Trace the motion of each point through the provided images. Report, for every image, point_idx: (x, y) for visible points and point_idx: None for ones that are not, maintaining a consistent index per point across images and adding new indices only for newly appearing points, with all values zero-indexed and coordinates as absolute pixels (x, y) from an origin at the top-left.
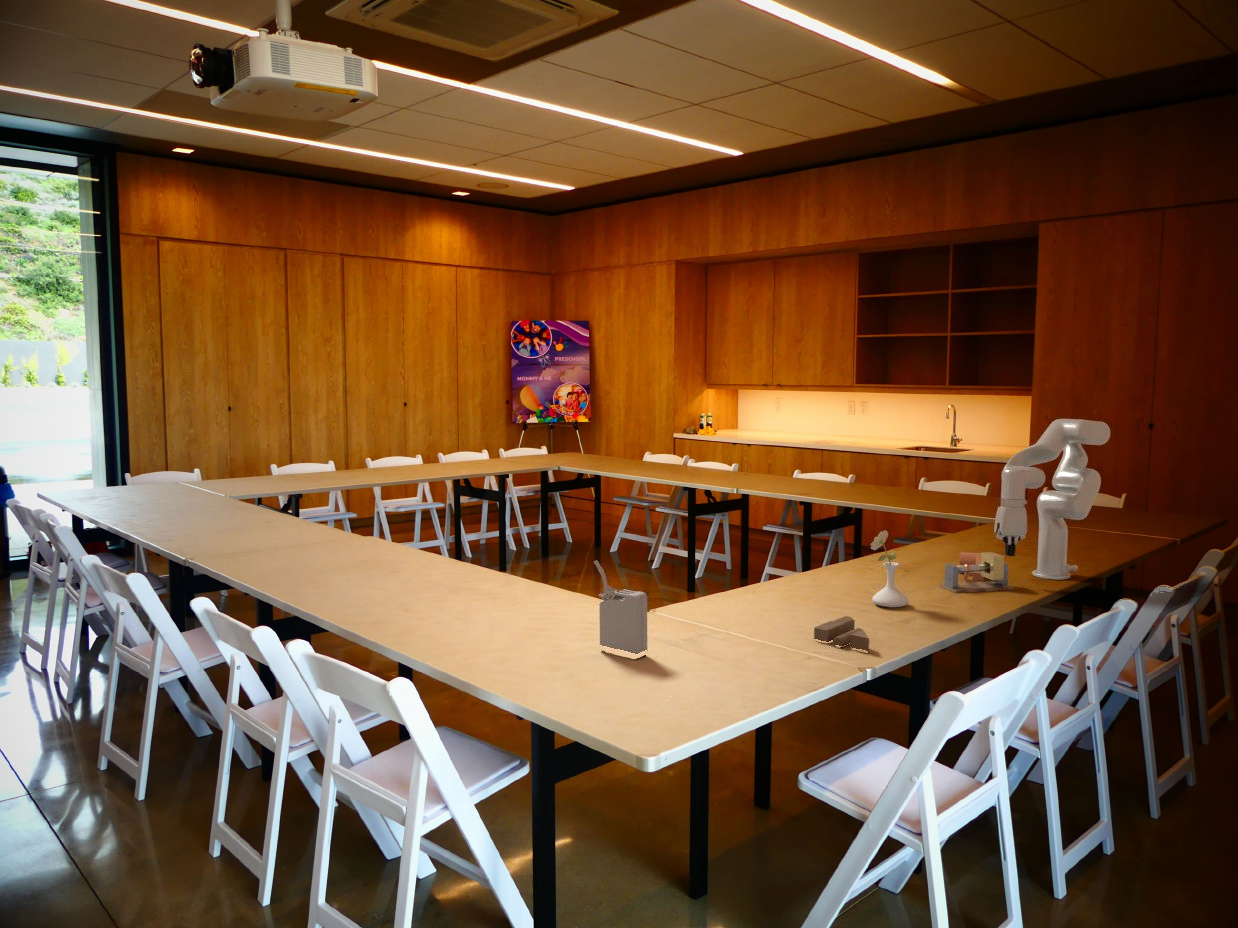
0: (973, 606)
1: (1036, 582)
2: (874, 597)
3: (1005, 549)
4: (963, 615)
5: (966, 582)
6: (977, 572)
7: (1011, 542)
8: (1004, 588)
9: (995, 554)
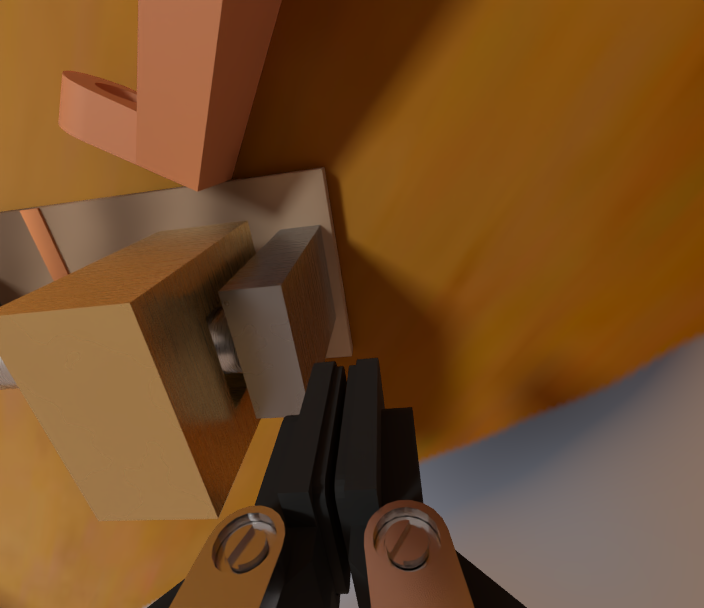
0: (76, 540)
1: (649, 180)
2: None
3: (278, 453)
4: (31, 600)
5: (93, 202)
6: (144, 158)
7: (360, 596)
8: None
9: (146, 434)
